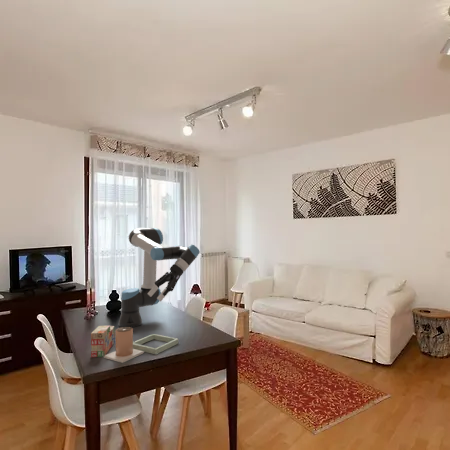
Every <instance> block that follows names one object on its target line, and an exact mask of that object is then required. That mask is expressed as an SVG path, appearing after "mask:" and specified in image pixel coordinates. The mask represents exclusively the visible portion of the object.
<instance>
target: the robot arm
mask: <svg viewBox="0 0 450 450" xmlns="http://www.w3.org/2000/svg"><path fill="white" fill-rule="evenodd" d="M128 242H129V243H130V244H131V246H133V247H136V248H139V249H142V250H143V252H144V253H143V254H144V255H143V277H142V278H143V283H142V285H141V286H140V288H139V287H138V288H137V287H133V288H131V287H130V288H127V289H124V290H123V291H122V292H121V295H120V296H121V297H120V299H121V300H120V303H121V304H120V305H121V306H120V308H121V309H120V310H121V312H120V313H121V314H120V316H119V320H118V327H119V328H122V327H131V328H135V327H138V326H139V327H140V326H141V325H142V324H143V319H142V317H141V313H140V308H142V307H148V306H149V307H150V306H155V305H157V304H158V303H160V302H162V301H163V300H164V299H165V297H167V295H168V293H169V292H173V291H174V290H175V287H176V285H177V284H178V281H179V279H180V278H181V276H183V274H184V272H186V271H187V269H188V268H189V267H190V266H191V265H192V263H193V262H194V261H195V260H196V259H197V258H198V256H199V254H200V253H201V252H200V249H199V248H198V247H197V246H196V245H194V244H193V243H192V244H190V245H188V246H187V247H185V246H182V245H173V246H162V244H163V243H164V235H163V232H162V231H161V229H160V228H157V227H156V228H155V227H137V228H134V229H133V230H131V232H130V233H129V235H128ZM167 260H176V261H175V262H174V263H173V264H172V265H171V266H170V267H169V270H170V272H169V271H166V272H164V274H163V275H162V276H160V277H159V278H158V279H157V261H167ZM166 283H167V284H166ZM164 284H166V287H165V288H164V289H163V290H162V292H161V289H160V287H161V286H162V285H164Z"/></svg>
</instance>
